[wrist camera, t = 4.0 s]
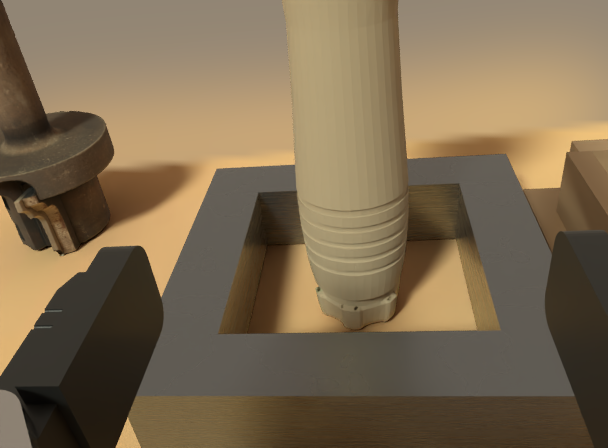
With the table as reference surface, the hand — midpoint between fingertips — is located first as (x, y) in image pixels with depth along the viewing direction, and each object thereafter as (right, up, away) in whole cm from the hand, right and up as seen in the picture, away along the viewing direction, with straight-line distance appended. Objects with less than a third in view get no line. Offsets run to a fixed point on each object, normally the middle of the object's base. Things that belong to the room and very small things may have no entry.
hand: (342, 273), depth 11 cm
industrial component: (-14, 0, +19) cm, 24 cm away
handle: (+2, -3, +12) cm, 13 cm away
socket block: (+2, -2, +12) cm, 12 cm away
